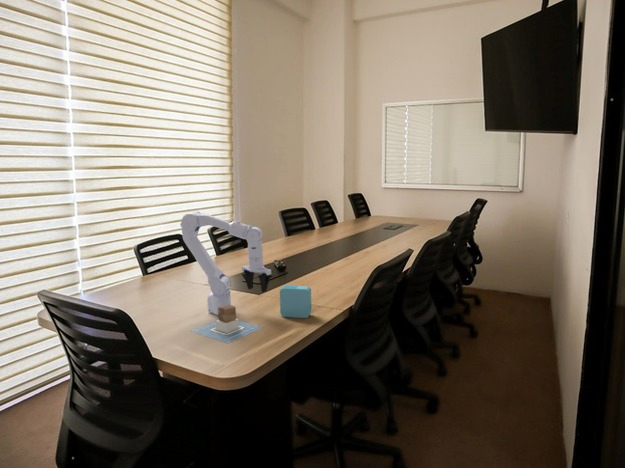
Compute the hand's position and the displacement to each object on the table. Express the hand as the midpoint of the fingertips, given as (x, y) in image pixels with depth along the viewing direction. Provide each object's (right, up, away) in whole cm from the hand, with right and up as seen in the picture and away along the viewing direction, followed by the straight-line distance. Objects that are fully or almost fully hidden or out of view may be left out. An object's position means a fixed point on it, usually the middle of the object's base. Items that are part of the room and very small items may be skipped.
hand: (257, 290), depth 181 cm
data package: (+16, -11, 0) cm, 19 cm away
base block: (-9, -12, -17) cm, 23 cm away
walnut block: (-9, -9, -17) cm, 21 cm away
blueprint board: (-9, -13, -17) cm, 23 cm away
